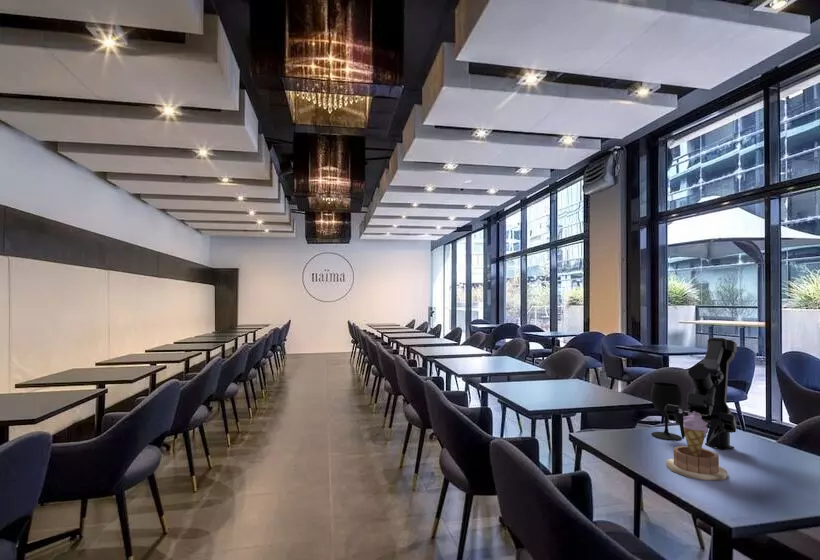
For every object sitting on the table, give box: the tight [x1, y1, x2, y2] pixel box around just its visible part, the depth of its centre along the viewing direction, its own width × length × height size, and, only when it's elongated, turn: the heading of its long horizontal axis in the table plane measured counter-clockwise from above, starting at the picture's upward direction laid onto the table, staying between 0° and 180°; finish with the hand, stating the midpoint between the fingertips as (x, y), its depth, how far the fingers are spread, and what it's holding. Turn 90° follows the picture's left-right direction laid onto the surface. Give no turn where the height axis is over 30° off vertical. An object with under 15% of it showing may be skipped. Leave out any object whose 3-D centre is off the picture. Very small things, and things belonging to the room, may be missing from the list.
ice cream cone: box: [683, 411, 709, 457], centre depth 140 cm, size 7×6×15 cm
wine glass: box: [650, 381, 683, 442], centre depth 175 cm, size 10×10×20 cm
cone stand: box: [665, 445, 729, 482], centre depth 140 cm, size 16×16×6 cm
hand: (694, 440), depth 139 cm, fingers closed on ice cream cone, 6 cm apart
